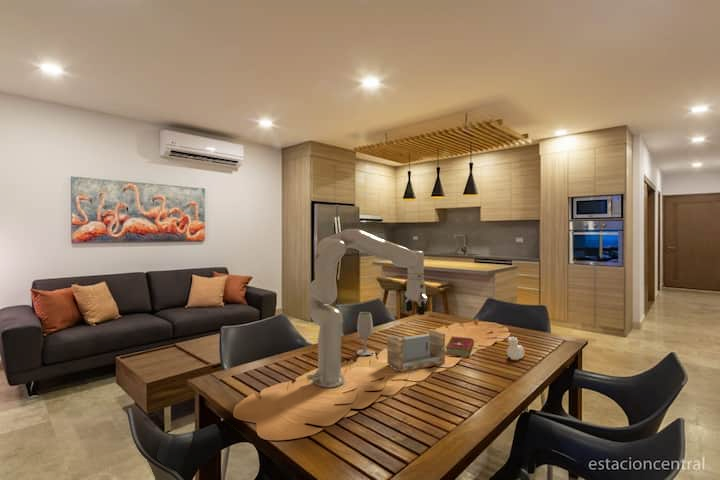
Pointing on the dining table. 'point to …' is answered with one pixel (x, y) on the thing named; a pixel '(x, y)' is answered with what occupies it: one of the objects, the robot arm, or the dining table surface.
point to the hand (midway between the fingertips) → (415, 312)
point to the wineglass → (364, 330)
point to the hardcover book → (460, 345)
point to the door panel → (416, 347)
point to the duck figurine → (515, 349)
